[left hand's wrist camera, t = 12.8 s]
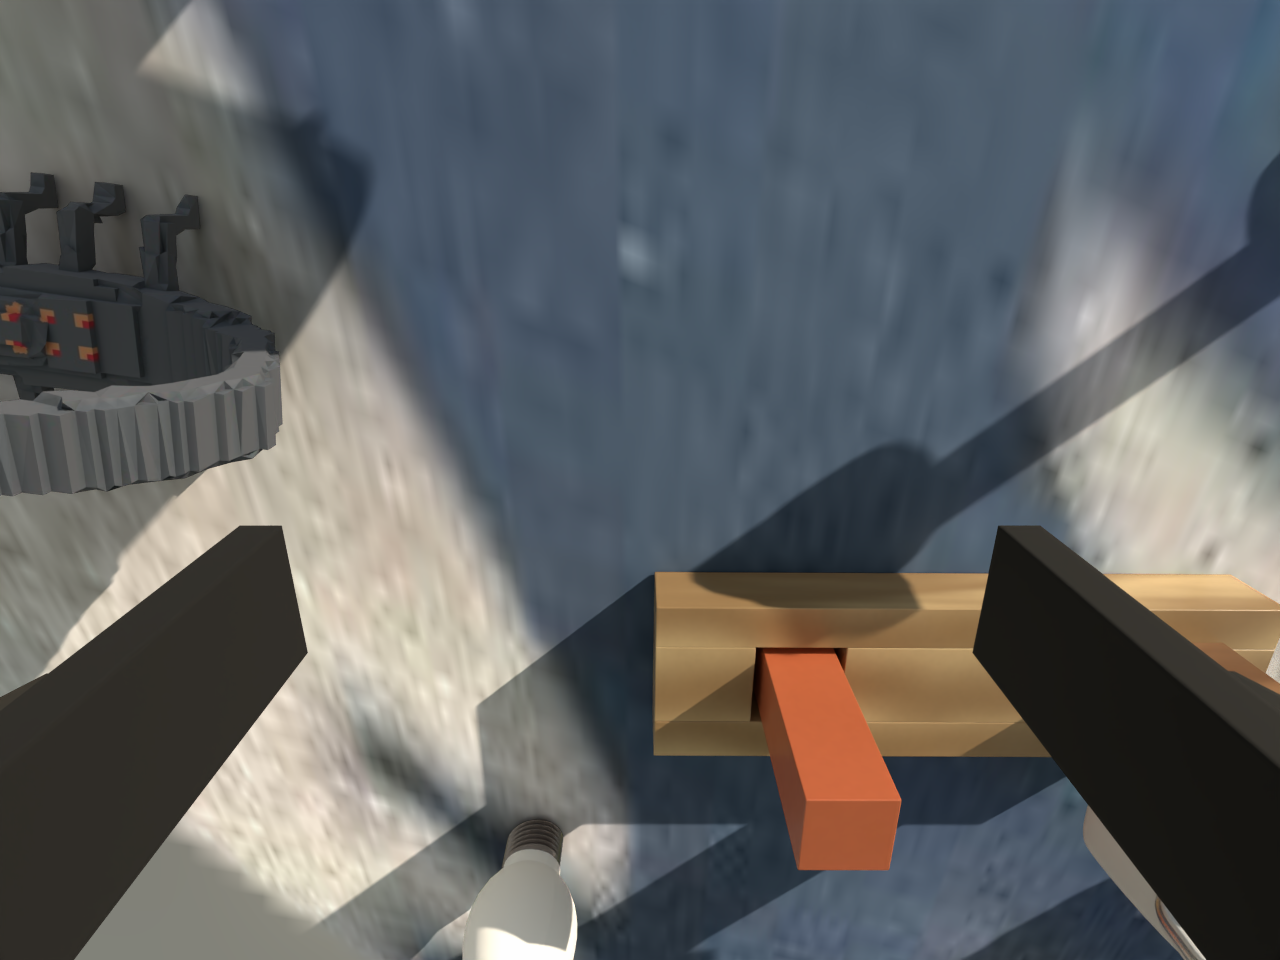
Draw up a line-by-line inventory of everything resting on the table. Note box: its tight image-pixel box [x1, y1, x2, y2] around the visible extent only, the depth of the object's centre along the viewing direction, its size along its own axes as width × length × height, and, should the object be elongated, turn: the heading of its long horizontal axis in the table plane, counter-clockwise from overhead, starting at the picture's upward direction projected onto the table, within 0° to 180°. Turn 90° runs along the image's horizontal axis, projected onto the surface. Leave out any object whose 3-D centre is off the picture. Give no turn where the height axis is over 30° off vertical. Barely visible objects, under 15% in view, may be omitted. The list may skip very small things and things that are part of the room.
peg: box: [753, 647, 901, 870], centre depth 36 cm, size 4×4×14 cm
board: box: [652, 572, 1280, 757], centre depth 37 cm, size 10×34×12 cm, turn 90°
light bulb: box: [463, 820, 577, 960], centre depth 43 cm, size 7×7×11 cm
